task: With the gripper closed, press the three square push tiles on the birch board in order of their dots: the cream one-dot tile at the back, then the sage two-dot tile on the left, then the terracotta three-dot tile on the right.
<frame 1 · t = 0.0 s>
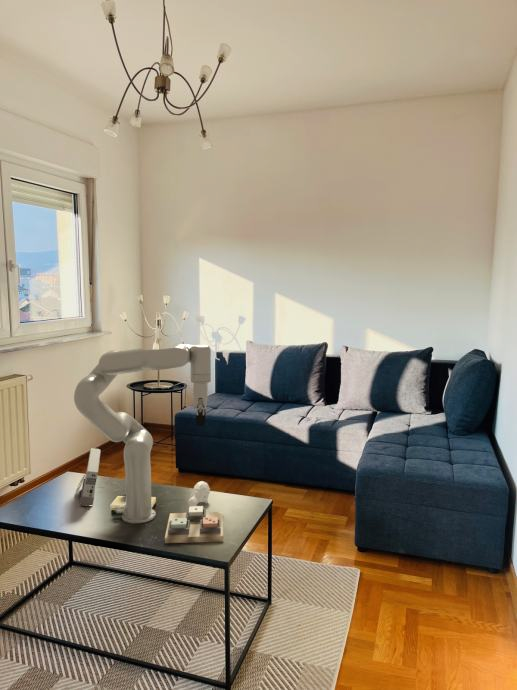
hand: (201, 422, 202), 37 cm above the table, tool pointing down, fingers open, 9 cm apart
tile sage: (179, 523, 189), point 4 cm above the table, slide at 0.0 cm
tile terracotta: (210, 522, 190), point 4 cm above the table, slide at 0.0 cm
tile cream: (195, 511, 199), point 4 cm above the table, slide at 0.0 cm
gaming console: (87, 498, 222), on the table
tile board: (195, 529, 194), on the table
white statuette: (197, 505, 216), on the table
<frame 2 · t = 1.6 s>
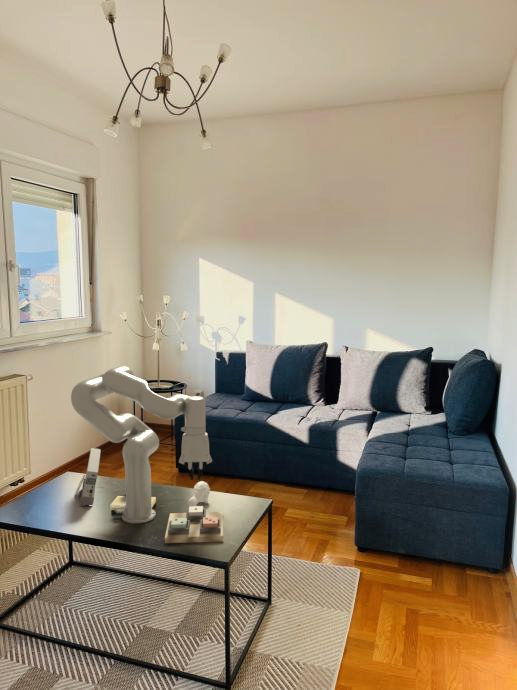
hand: (195, 478, 198), 17 cm above the table, tool pointing down, fingers closed
nothing on the table moved.
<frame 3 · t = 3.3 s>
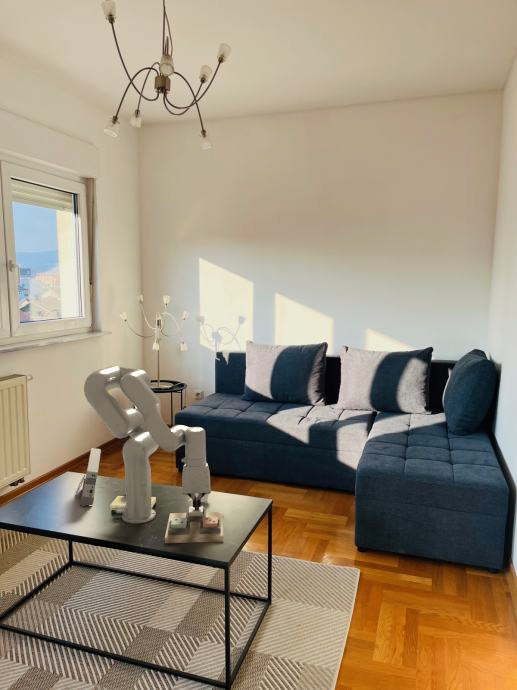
hand: (196, 508, 199), 5 cm above the table, tool pointing down, fingers closed
tile cream: (195, 511, 199), point 4 cm above the table, slide at 0.0 cm, touching gripper
everything else where it was.
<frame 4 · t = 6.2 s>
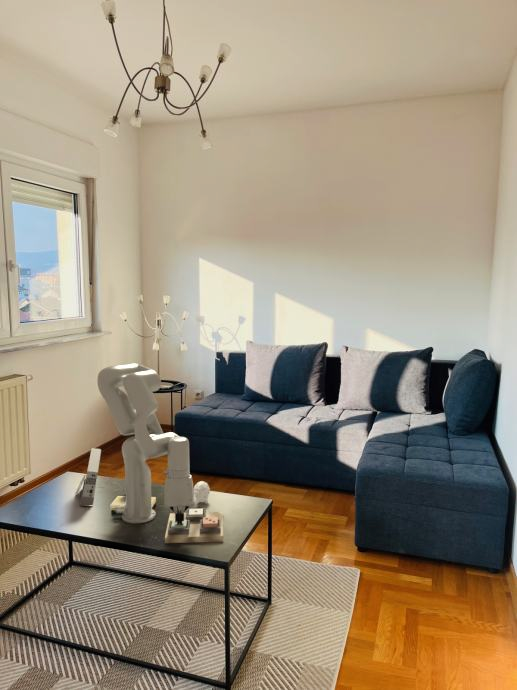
hand: (179, 522, 188), 5 cm above the table, tool pointing down, fingers closed
tile sage: (179, 525, 189), point 4 cm above the table, slide at 0.7 cm, touching gripper
tile cream: (195, 513, 199), point 3 cm above the table, slide at 0.9 cm
everything else where it was.
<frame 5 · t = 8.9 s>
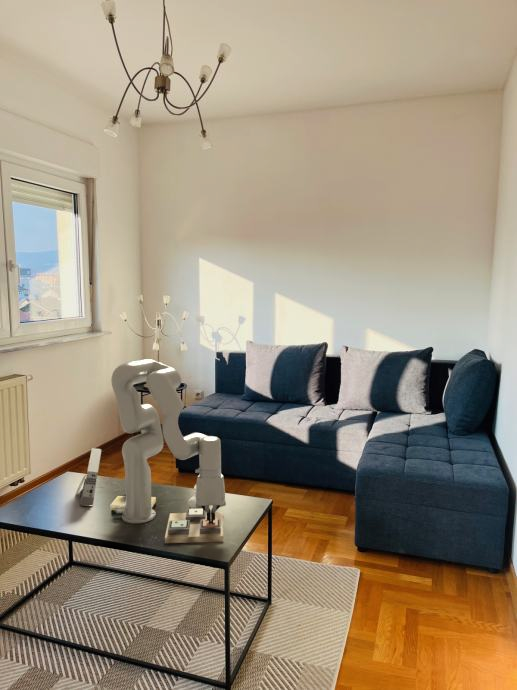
hand: (210, 521, 189), 5 cm above the table, tool pointing down, fingers closed
tile sage: (179, 526, 189), point 3 cm above the table, slide at 0.9 cm
tile terracotta: (210, 524, 190), point 4 cm above the table, slide at 0.7 cm, touching gripper
everything else where it was.
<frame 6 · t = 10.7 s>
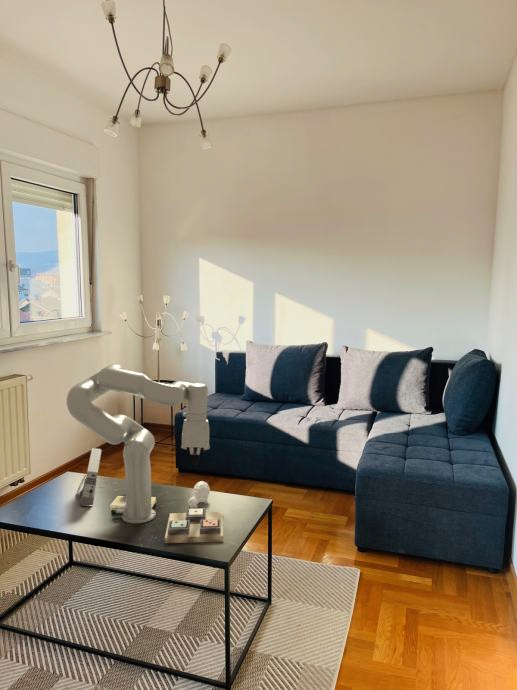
hand: (194, 463, 202), 21 cm above the table, tool pointing down, fingers closed
tile terracotta: (210, 525, 190), point 3 cm above the table, slide at 0.9 cm
everything else where it was.
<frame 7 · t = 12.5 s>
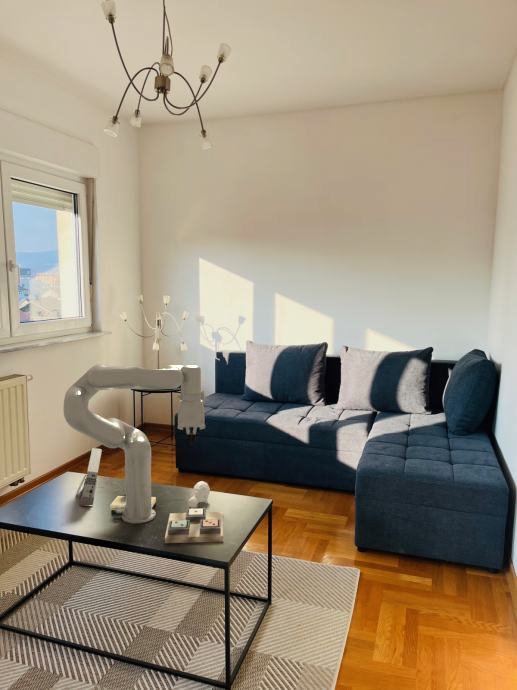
hand: (191, 443, 208), 27 cm above the table, tool pointing down, fingers closed
nothing on the table moved.
at the end: tile cream slide at 0.9 cm; tile sage slide at 0.9 cm; tile terracotta slide at 0.9 cm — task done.
